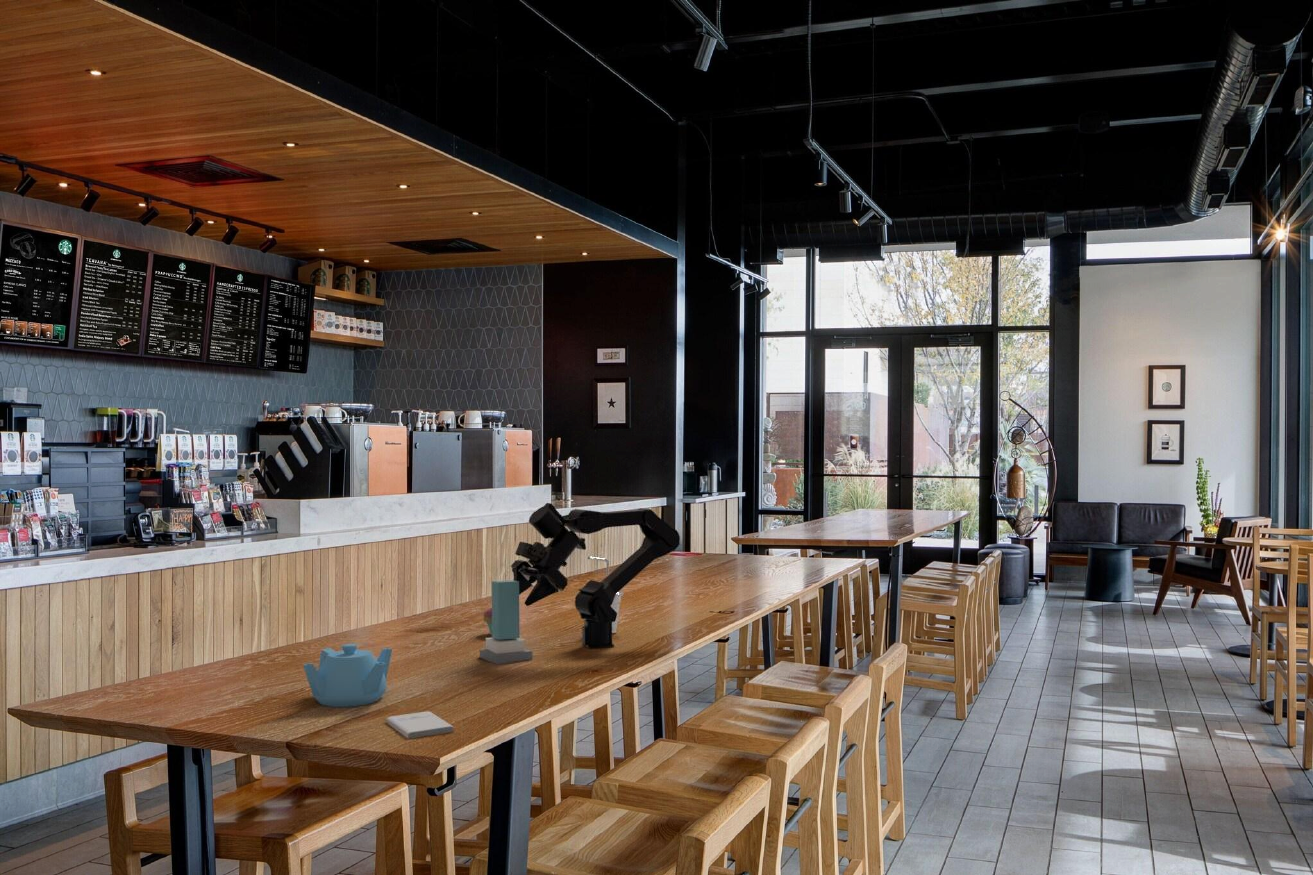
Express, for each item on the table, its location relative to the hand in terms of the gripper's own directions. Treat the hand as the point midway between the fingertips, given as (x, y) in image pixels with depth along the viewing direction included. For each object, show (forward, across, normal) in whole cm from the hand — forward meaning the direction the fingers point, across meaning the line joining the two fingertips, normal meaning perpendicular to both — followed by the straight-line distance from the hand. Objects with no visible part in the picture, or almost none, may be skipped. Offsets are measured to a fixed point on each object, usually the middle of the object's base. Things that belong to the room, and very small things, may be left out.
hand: (516, 602), depth 248 cm
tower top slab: (+10, 0, +6) cm, 11 cm away
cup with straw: (-14, -14, +33) cm, 39 cm away
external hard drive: (+39, +44, -20) cm, 62 cm away
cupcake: (+2, -29, +16) cm, 33 cm away
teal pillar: (+8, 0, +4) cm, 9 cm away
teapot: (+41, +18, -23) cm, 50 cm away
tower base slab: (+12, 0, +7) cm, 14 cm away
